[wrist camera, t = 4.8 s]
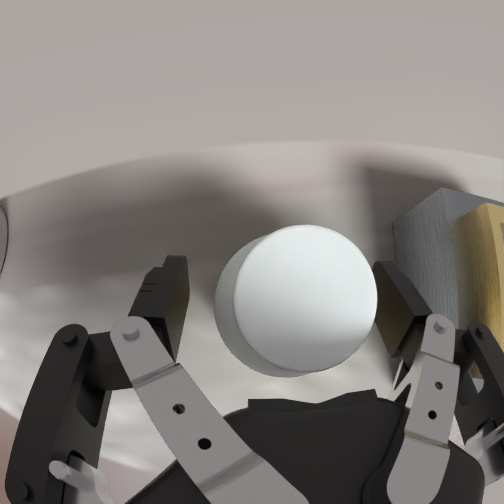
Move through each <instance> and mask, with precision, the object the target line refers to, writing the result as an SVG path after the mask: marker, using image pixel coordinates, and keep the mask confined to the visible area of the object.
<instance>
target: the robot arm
mask: <svg viewBox="0 0 504 504" xmlns="http://www.w3.org/2000/svg"><path fill="white" fill-rule="evenodd" d="M6 245H7V220H6V217H5V213H4V211H3V209H2V207H0V272H1V268H2V265H3V262H4V257H5V252H6ZM372 273H373V276H374V279H375V284H376V289H377V308H376V314H375V318H374V320H375V323H376V325H377V327H378V329H379V331H380V333H381V336H382V338H383V340H384V342H385V345H386V347H387V349H388V351H389V354H390V356H391V358H393V357H399V356H402V358H403V360H402V361H401V363H400V365H399V368H398V371H397V374H396V377H395V380H394V382H393V385H392V388H391V391H390V393H389V396H388V398H387V399H384V398H378V397H377V394H376V391H375V389H371V390H365V391H358V392H351V393H346V394H343V395H341V396H338V397H335V398H333V399H330V400H327V401H324V402H321V403H317V404H314V403H307V402H300V401H294V400H288V399H248V408H244V409H240V410H237V411H234V412H231V413H229V414H227V415H225V416H223V417H222V416H221V415H220V414H219V413H218V411H217V410H216V409H215V408H214V407H213V405H212V404H211V403H210V402H209V400H208V399H207V398H206V397H205V395H204V394H203V393H202V391H201V390H200V389H199V388H198V386H197V385H196V384H195V382H194V381H193V380H192V378H191V377H190V376H189V374H188V373H187V371H186V370H185V369H184V367H183V366H182V365H181V364H180V363H177V364H176V359H177V354H178V349H179V344H180V339H181V334H182V330H183V325H184V320H185V316H186V311H187V307H188V302H189V294H190V288H189V278H188V268H187V259H186V256H172V255H168V256H167V257H166V259H165V262H164V264H163V266H162V267H154V268H153V269H152V270H151V271H150V272H149V273H148V274H146V277H145V279H144V281H143V285H141V287H140V290H139V292H138V294H137V296H136V298H135V301H134V303H133V305H132V308H131V310H130V312H129V315H128V317H126V318H123V319H121V320H119V321H118V322H116V323H115V324H114V325H113V327H112V329H111V331H109V332H104V333H97V334H90V335H89V334H88V332H87V330H86V329H85V328H84V327H83V326H81V325H78V324H70V325H67V326H65V327H63V328H61V329H60V330H59V331H58V332H57V333H56V334H55V336H54V338H53V340H52V342H51V344H50V346H49V348H48V350H47V353H46V355H45V357H44V359H43V362H42V364H41V366H40V368H39V371H38V373H37V376H36V378H35V380H34V383H33V386H32V388H31V391H30V393H29V396H28V399H27V401H26V404H25V407H24V410H23V413H22V416H21V419H20V422H19V426H18V429H17V432H16V436H15V440H14V443H13V447H12V451H11V455H10V459H9V464H8V469H7V473H6V479H5V491H6V494H7V497H8V499H9V501H10V502H11V504H115V503H114V502H113V500H112V498H111V495H110V486H109V482H108V480H107V478H106V477H105V476H104V474H103V473H101V472H100V471H99V470H97V467H98V460H99V454H100V448H101V442H102V437H103V431H104V426H105V421H106V416H107V412H108V407H109V403H110V398H111V394H112V390H120V389H128V388H134V389H135V391H136V393H137V395H138V397H139V399H140V401H141V402H142V404H143V406H144V408H145V410H146V411H147V413H148V415H149V416H150V418H151V420H152V422H153V423H154V425H155V427H156V428H157V430H158V431H159V433H160V435H161V436H162V438H163V439H164V441H165V442H166V444H167V445H168V447H169V448H170V450H171V451H172V453H173V454H174V456H175V457H176V460H175V461H174V462H173V463H172V464H171V465H169V466H168V467H167V468H166V469H165V470H164V471H163V472H162V473H160V474H159V475H158V476H157V477H156V478H155V479H154V480H153V481H151V482H150V483H149V484H148V485H147V486H145V487H144V488H143V489H142V490H141V491H139V492H138V493H137V494H136V495H135V496H134V497H132V498H131V499H130V500H128V501H127V502H126V503H125V504H482V499H483V493H484V488H485V487H486V486H487V485H489V484H491V483H493V482H495V481H497V480H499V479H500V478H502V477H504V352H503V351H502V349H501V347H500V345H499V344H498V342H497V340H496V339H495V337H494V336H493V334H492V332H491V331H490V329H489V328H488V327H487V326H486V325H485V324H483V323H481V322H479V321H472V322H471V323H470V324H469V326H468V327H467V329H466V330H462V329H456V328H455V327H454V325H453V323H452V322H451V321H450V320H449V319H448V318H446V317H445V316H443V315H440V314H433V312H432V311H431V309H430V308H429V306H428V305H427V303H426V302H425V300H424V299H423V297H422V296H421V294H419V291H418V290H417V289H416V288H415V286H414V284H413V283H412V282H411V280H410V279H409V278H408V277H406V276H405V275H404V274H403V273H401V272H400V271H399V270H398V268H397V267H396V265H395V264H394V263H393V262H392V261H376V262H375V263H374V265H373V268H372ZM475 364H476V365H477V367H478V369H479V371H480V373H481V375H482V377H483V380H484V385H483V388H482V389H481V391H480V392H479V393H478V391H477V389H476V387H475V385H474V382H473V380H472V378H471V376H470V374H469V371H470V370H471V369H472V368H473V366H474V365H475ZM454 414H455V417H456V420H457V423H458V426H459V429H460V432H461V435H462V438H463V442H464V445H465V451H464V450H463V449H461V448H460V447H458V446H457V445H456V444H454V443H453V442H451V441H450V440H449V434H450V430H451V425H452V420H453V415H454Z"/></svg>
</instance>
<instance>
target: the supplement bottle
mask: <svg viewBox="0 0 504 504" xmlns="http://www.w3.org/2000/svg"><path fill="white" fill-rule="evenodd" d="M376 308H377V289H376V284H375V279H374V276H373V273H372V270H371V268H370V266H369V264H368V262H367V260H366V259H365V257H364V255H363V254H362V253H361V251H360V250H359V249H358V248H357V247H356V246H355V245H354V244H353V243H352V242H351V241H350V240H349V239H348V238H346V237H344V236H343V235H341V234H340V233H338V232H336V231H334V230H331V229H329V228H326V227H322V226H317V225H311V224H302V225H293V226H288V227H285V228H281V229H278V230H277V231H275V232H273V233H271V234H268V235H265V236H262V237H259V238H257V239H255V240H253V241H251V242H250V243H248V244H246V245H245V246H244V247H242V248H241V249H240V250H239V251H238V252H237V253H236V254H235V255H234V256H233V257H232V258H231V259H230V261H229V262H228V263H227V265H226V266H225V268H224V269H223V271H222V273H221V276H220V278H219V281H218V284H217V287H216V292H215V298H214V313H215V319H216V324H217V327H218V330H219V333H220V335H221V337H222V339H223V341H224V343H225V345H226V346H227V347H228V349H229V350H230V351H231V353H232V354H233V355H234V356H235V357H236V358H237V359H239V360H240V361H241V362H242V363H243V364H245V365H246V366H248V367H249V368H251V369H253V370H255V371H257V372H260V373H262V374H266V375H269V376H274V377H297V376H302V375H306V374H309V373H313V372H318V371H323V370H326V369H329V368H332V367H334V366H336V365H338V364H340V363H342V362H343V361H345V360H346V359H348V358H349V357H350V356H351V355H352V354H354V353H355V352H356V351H357V350H358V348H359V347H360V346H361V345H362V343H363V342H364V340H365V339H366V337H367V336H368V334H369V332H370V330H371V327H372V325H373V321H374V318H375V314H376Z"/></svg>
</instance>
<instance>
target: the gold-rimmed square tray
mask: <svg viewBox="0 0 504 504" xmlns="http://www.w3.org/2000/svg"><path fill="white" fill-rule="evenodd" d="M392 226H393V234H394V242H395V251H396V262H397V268H398V270H399V271H400V272H401V273H403V274H404V275H405V276H406V277H408V278H409V279H410V280H411V282H412V283H413V284H414V286H415V288H416V289H417V290H418V291H419V294H421V296H422V297H423V299H424V300H425V302H426V303H427V305H428V306H429V308H430V309H431V311H432V312H433V314H440V315H443V316H445V317H446V318H448V319H449V320H450V321H451V322H452V323H453V325H454V327H455V328H456V329H462V330H466V329H467V327H468V326H469V324H470V323H471V322H472V321H479V322H481V323H483V324H485V325H486V326H487V327H488V328H489V329H490V331H491V332H492V334H493V336H494V337H495V339H496V340H497V342H498V344H499V345H500V347H501V349H502V351H503V352H504V203H502V202H498V201H495V200H491V199H488V198H484V197H480V196H476V195H473V194H469V193H464V192H460V191H456V190H452V189H447V188H443V187H440V188H439V189H438V190H436V191H435V192H434V193H432V194H431V195H430V196H428V197H427V198H425V199H424V200H423V201H421V202H420V203H419V204H417V205H416V206H414V207H413V208H412V209H410V210H409V211H408V212H406V213H405V214H403V215H402V216H400V217H399V218H398V219H396V220H395V221H393V222H392ZM402 360H403V358H402V356H399V365H400V363H401V361H402ZM399 365H398V368H399ZM469 374H470V376H471V378H472V380H473V382H474V385H475V387H476V389H477V391H478V393H479V392H480V391H481V389H482V388H483V385H484V380H483V377H482V375H481V373H480V371H479V369H478V367H477V365H476V364H475V365H474V366H473V368H472V369H471V370H470V371H469Z"/></svg>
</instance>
